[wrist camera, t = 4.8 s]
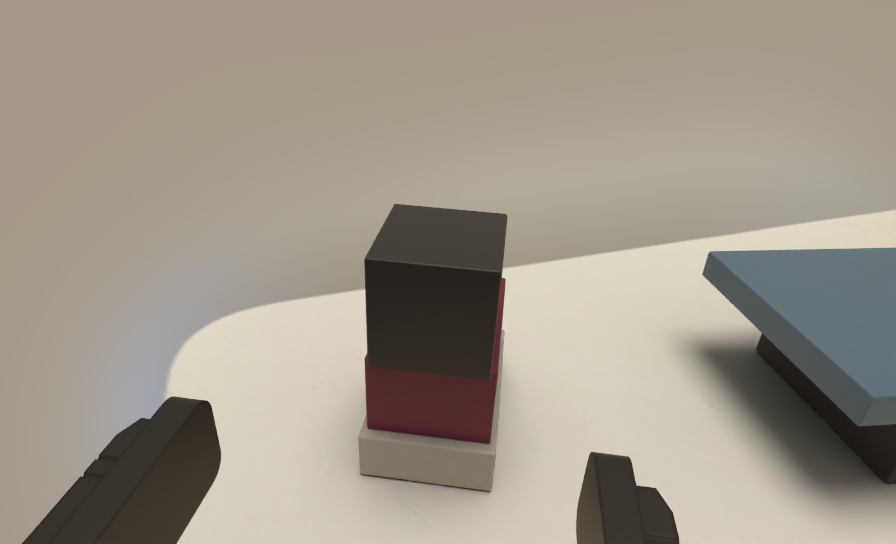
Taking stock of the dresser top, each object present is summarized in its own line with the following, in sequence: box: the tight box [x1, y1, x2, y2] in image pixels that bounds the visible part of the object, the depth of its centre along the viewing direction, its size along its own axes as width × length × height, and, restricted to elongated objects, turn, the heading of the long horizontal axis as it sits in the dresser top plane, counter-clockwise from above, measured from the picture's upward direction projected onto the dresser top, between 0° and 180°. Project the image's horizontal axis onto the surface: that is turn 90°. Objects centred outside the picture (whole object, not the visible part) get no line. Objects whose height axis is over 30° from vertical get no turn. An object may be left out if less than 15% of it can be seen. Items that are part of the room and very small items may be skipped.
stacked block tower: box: [359, 204, 507, 491], centre depth 21 cm, size 9×5×9 cm, turn 173°
